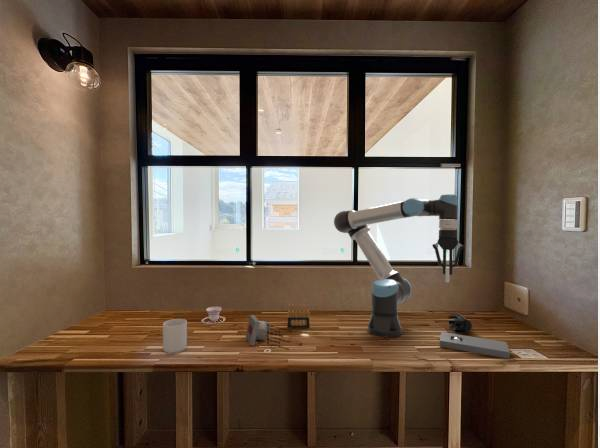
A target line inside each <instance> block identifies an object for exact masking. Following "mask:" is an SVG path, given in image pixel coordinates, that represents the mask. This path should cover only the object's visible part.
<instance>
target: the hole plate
mask: <svg viewBox="0 0 600 448" xmlns="http://www.w3.org/2000/svg"><path fill="white" fill-rule="evenodd" d="M455 337H457V338H459V339H460V340H461V341H457V340H453V338H455ZM507 343H508V342H507V341H502V340H497V339H488V338H482V337H475V336H471V335H463V334H459V333H450V332H445V331H441V333H440V338H439V348H440V347H441V348H447V349H452V350H456V351H464V352H468V353H475V354H480V355H486V356H490V357H491V356H492V357H497V358H502V359H503V358H504V359H507V360H510V359H511V352H510V348H509V345H508V344H507Z"/></svg>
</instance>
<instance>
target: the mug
mask: <svg viewBox="0 0 600 448" xmlns="http://www.w3.org/2000/svg"><path fill="white" fill-rule="evenodd" d="M187 347H188V320H187V319H184V318H174V319H173V318H172V319H168V320H166V321H164V322H163V323H162V350H163V351H164V353H166V354H168V355H175V354H180V353H182V352H183V351H185V350H186V348H187Z"/></svg>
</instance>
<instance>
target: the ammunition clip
mask: <svg viewBox="0 0 600 448" xmlns="http://www.w3.org/2000/svg"><path fill="white" fill-rule="evenodd" d="M294 303H295V302H292V305H291V303H290V302H289V303H288V306H287V307H288V308H287V328H286V329H310V327H311V326H310V304H309V302H307V303H306V304H305V302H303V304H302V302H299V305H298V302H296V303H295V304H294Z"/></svg>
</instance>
